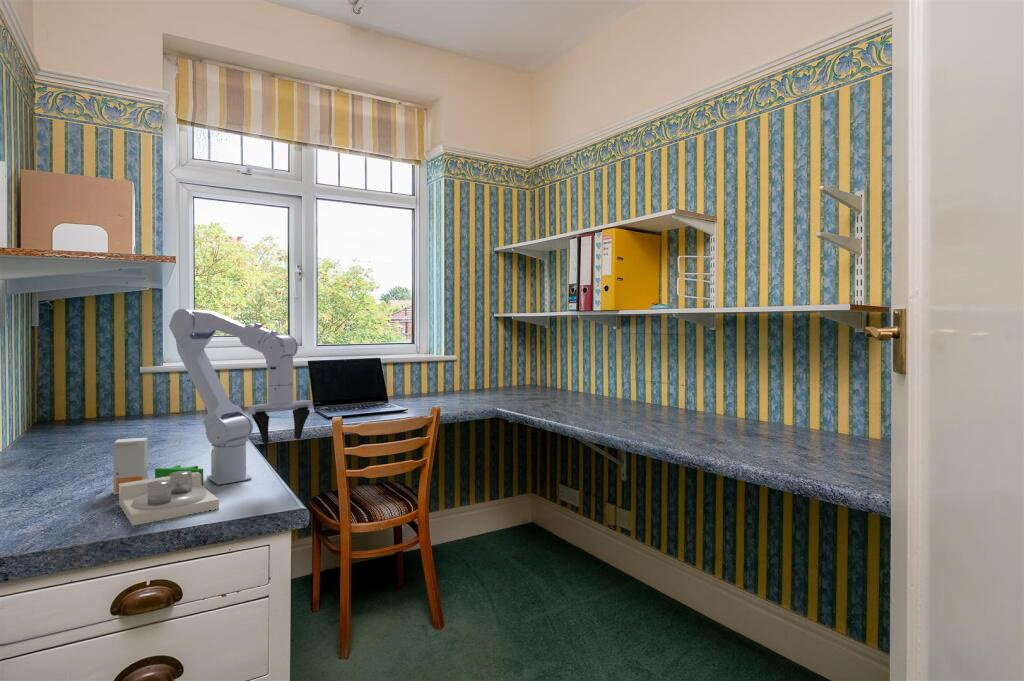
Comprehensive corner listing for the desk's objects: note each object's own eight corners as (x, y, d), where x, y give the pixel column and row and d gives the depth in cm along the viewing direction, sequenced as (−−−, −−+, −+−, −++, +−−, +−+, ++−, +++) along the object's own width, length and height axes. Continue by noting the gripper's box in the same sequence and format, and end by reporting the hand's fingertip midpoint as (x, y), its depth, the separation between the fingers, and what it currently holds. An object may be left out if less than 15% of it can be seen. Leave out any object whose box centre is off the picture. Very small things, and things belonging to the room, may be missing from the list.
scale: (119, 504, 118) (118, 483, 118) (198, 491, 128) (197, 471, 128) (132, 525, 106) (132, 502, 106) (218, 509, 116) (218, 487, 116)
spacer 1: (145, 502, 112) (145, 482, 112) (168, 498, 114) (168, 478, 114) (149, 507, 109) (149, 486, 109) (173, 502, 112) (172, 482, 111)
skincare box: (112, 495, 125) (112, 442, 125) (117, 490, 129) (117, 438, 129) (144, 492, 127) (144, 440, 127) (148, 487, 131) (148, 437, 131)
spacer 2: (167, 491, 119) (167, 473, 119) (188, 487, 122) (188, 469, 122) (173, 495, 116) (172, 476, 116) (194, 491, 119) (194, 473, 119)
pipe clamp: (210, 484, 135) (210, 466, 135) (200, 489, 131) (200, 469, 131) (165, 483, 135) (165, 464, 135) (154, 487, 132) (154, 468, 132)
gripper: (254, 388, 127) (255, 447, 127) (316, 383, 136) (317, 438, 137) (244, 386, 132) (246, 443, 132) (305, 382, 142) (306, 435, 142)
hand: (281, 440), depth 135 cm, fingers open, 7 cm apart
